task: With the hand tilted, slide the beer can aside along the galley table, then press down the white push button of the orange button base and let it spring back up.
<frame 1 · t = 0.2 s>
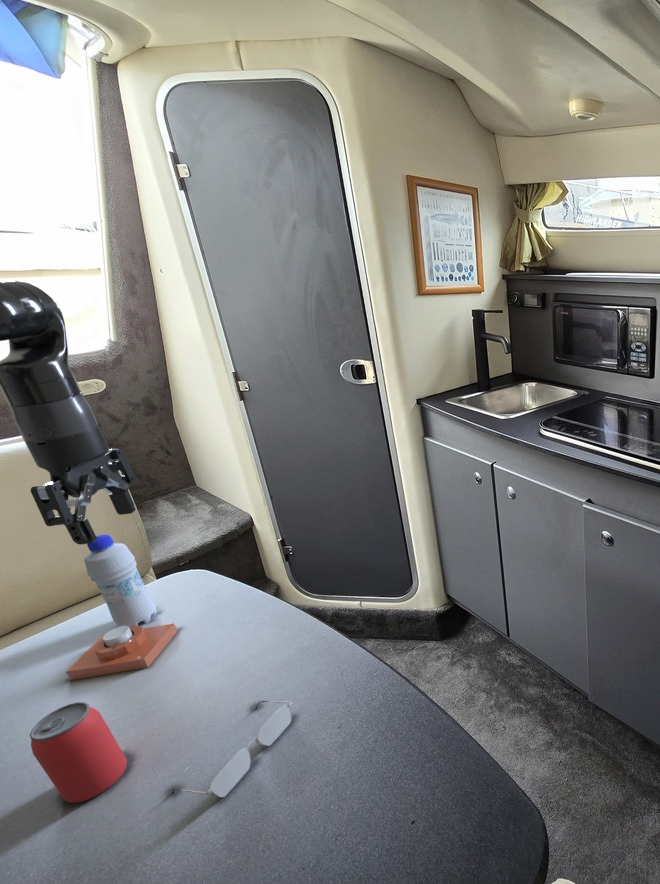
hand: (108, 527, 76), 30 cm above the table, tool pointing down, fingers open, 8 cm apart
eyeglasses: (239, 753, 72), on the table
orange button base: (127, 655, 91), on the table
bottle: (139, 621, 100), on the table
beer can: (98, 781, 69), on the table
white push button: (117, 636, 89), point 4 cm above the table, slide at 0.1 cm
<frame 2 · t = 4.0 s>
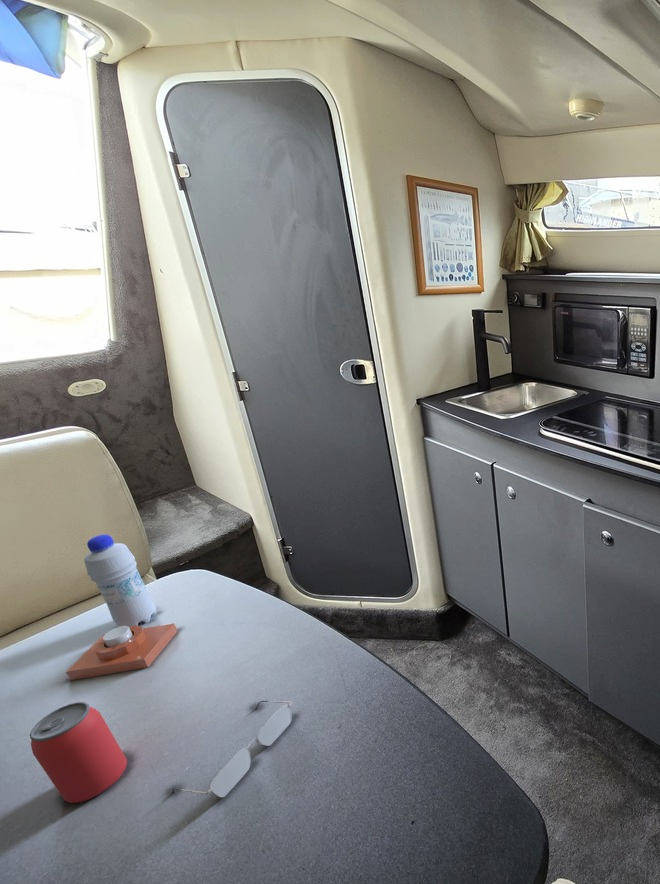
nothing on the table moved.
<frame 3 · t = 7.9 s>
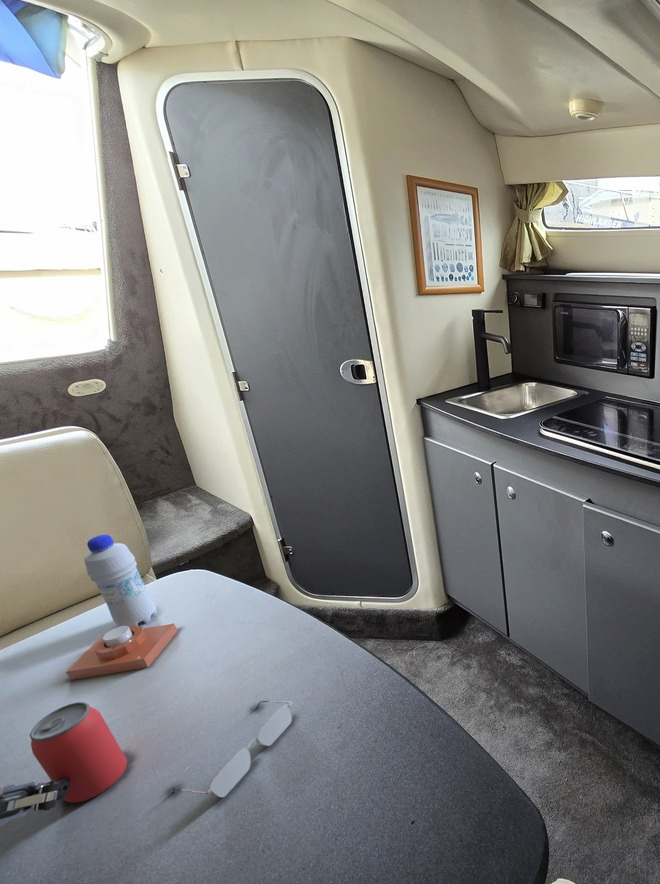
hand: (61, 788, 64), 4 cm above the table, tool tilted 45°, fingers closed
beer can: (98, 781, 69), on the table, touching gripper
everything else where it was.
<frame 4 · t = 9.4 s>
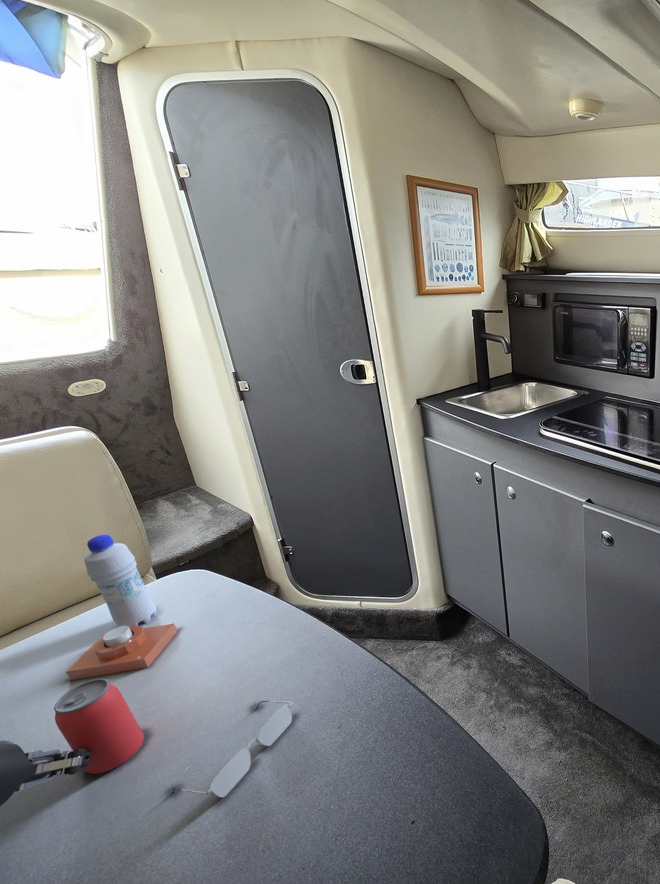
hand: (83, 758, 68), 4 cm above the table, tool tilted 45°, fingers closed
beer can: (117, 755, 73), on the table, touching gripper
everything else where it was.
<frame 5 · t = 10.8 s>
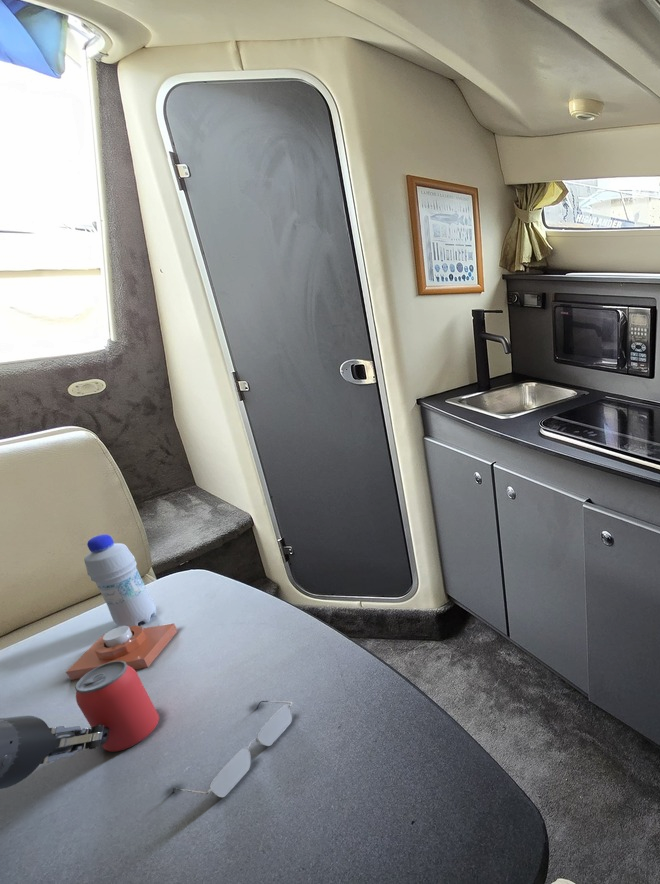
hand: (101, 736, 71), 4 cm above the table, tool tilted 45°, fingers closed
beer can: (134, 734, 76), on the table, touching gripper
everything else where it was.
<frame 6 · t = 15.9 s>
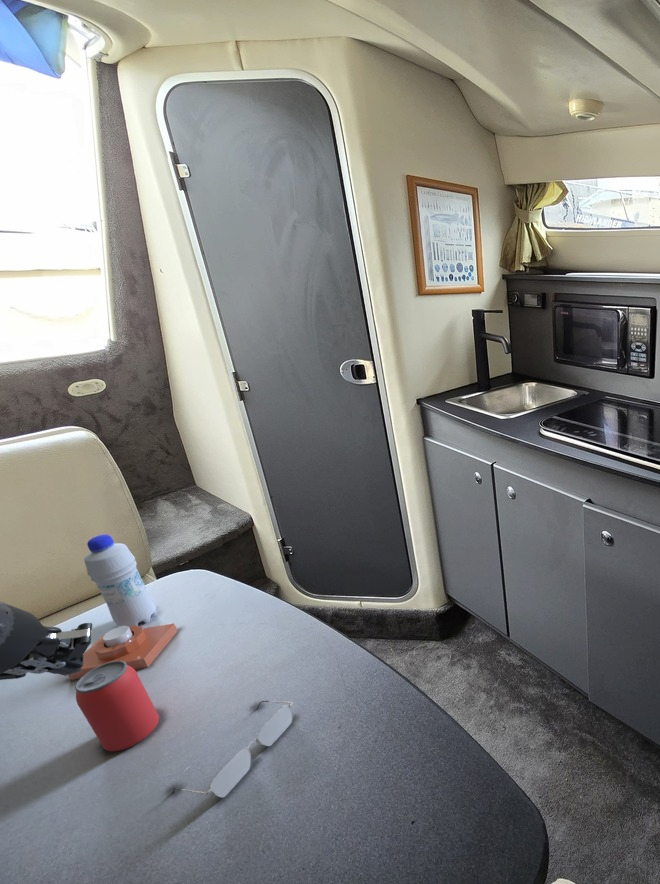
hand: (74, 665, 66), 18 cm above the table, tool tilted 35°, fingers closed
beer can: (134, 734, 76), on the table
everything else where it was.
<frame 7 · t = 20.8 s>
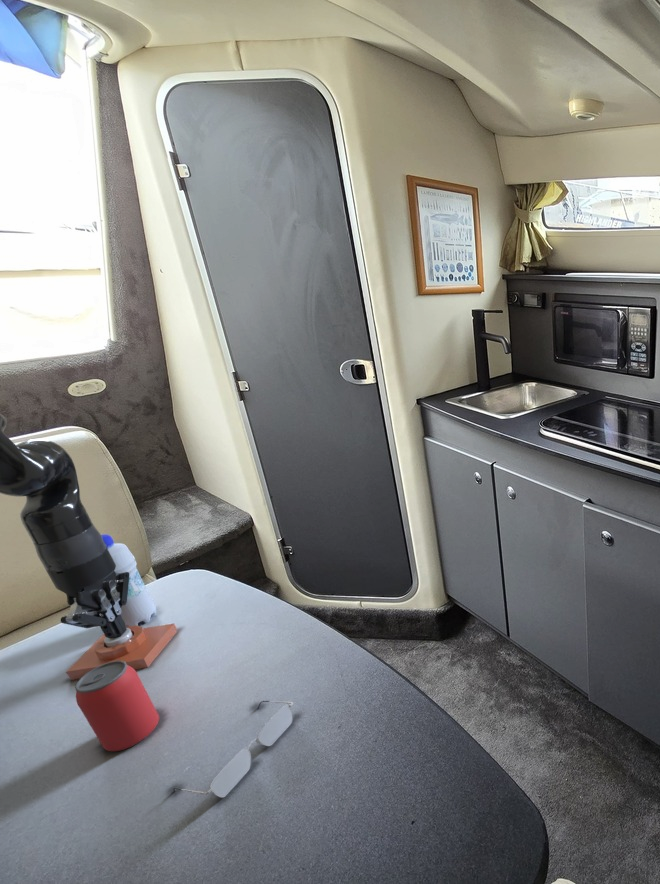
hand: (117, 634, 89), 5 cm above the table, tool pointing down, fingers closed
white push button: (119, 638, 90), point 4 cm above the table, slide at -0.4 cm, touching gripper
everything else where it was.
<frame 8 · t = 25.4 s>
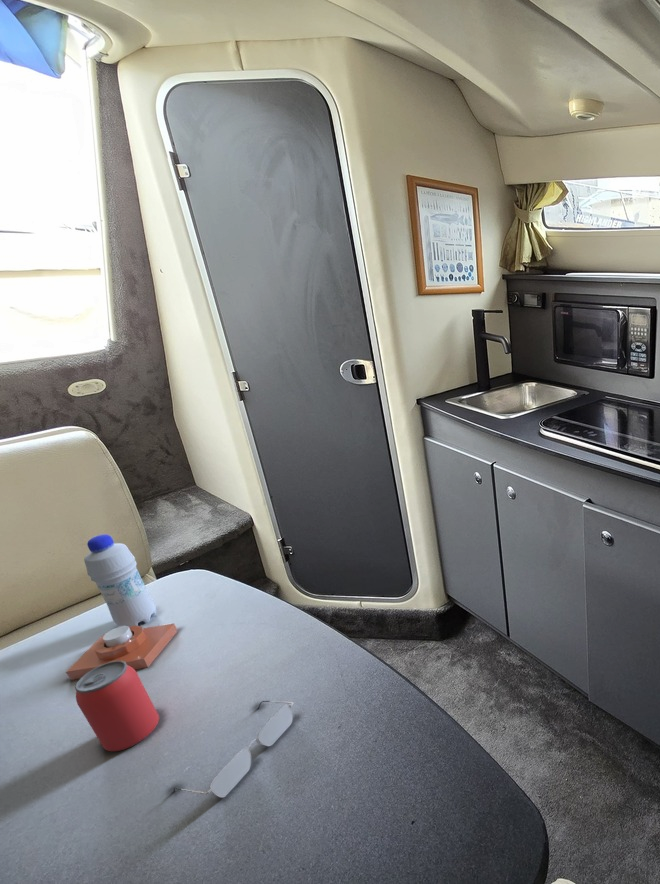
white push button: (117, 636, 89), point 4 cm above the table, slide at 0.1 cm
everything else where it was.
at the end: beer can moved 7.3 cm from its start; white push button pushed in 1.1 cm at the most during the clip, back to where it started at the end; white push button slide at 0.1 cm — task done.
